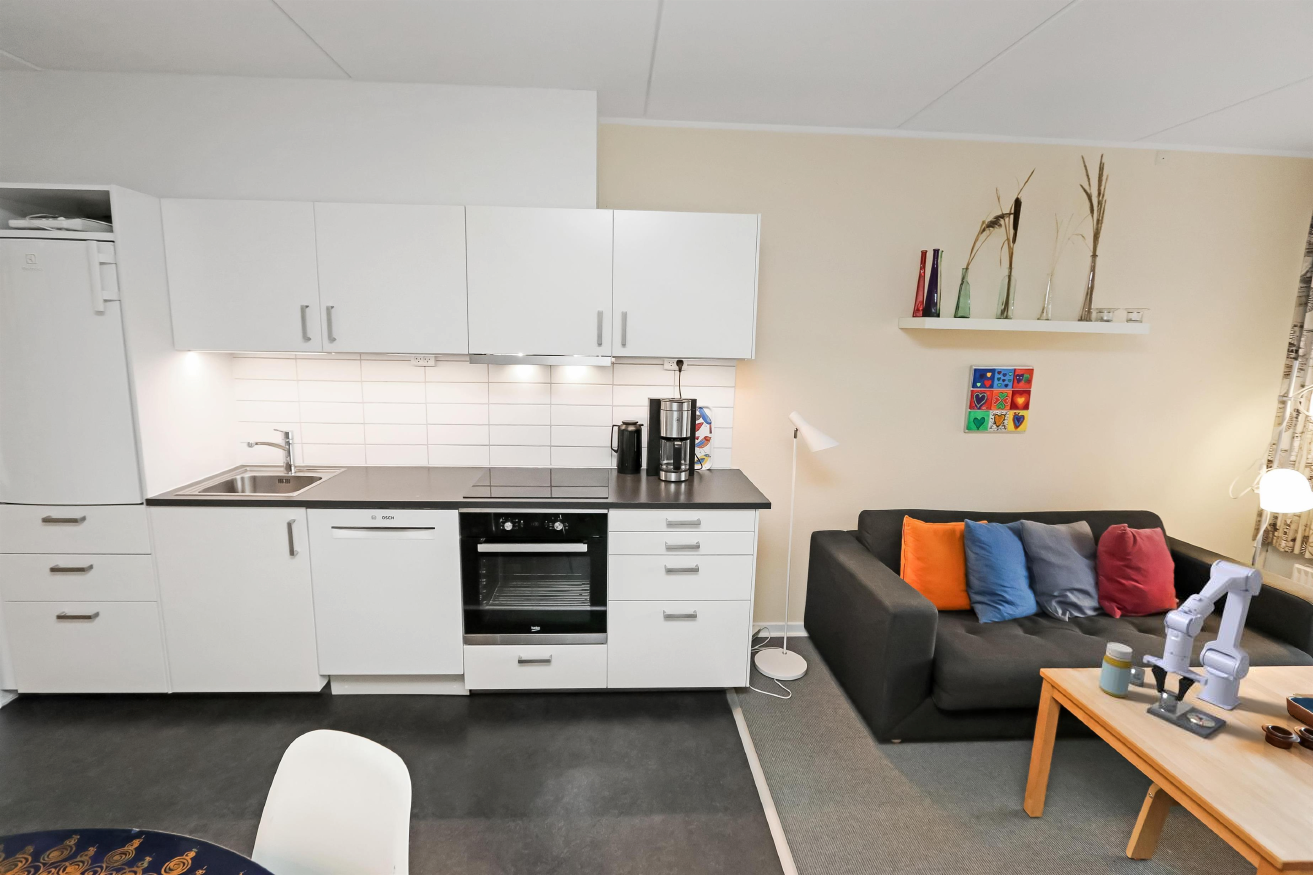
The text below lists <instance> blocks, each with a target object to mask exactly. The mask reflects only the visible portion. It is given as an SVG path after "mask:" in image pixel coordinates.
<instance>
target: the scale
mask: <svg viewBox="0 0 1313 875" xmlns="http://www.w3.org/2000/svg"><path fill="white" fill-rule="evenodd" d="M1146 713H1147V714H1149V715H1151V716H1153V717H1155V718H1158V719H1160V720H1163V721H1164V722H1167V723H1169V724H1171V725H1174V726H1176V727H1178V728H1179V729H1182V730H1185V731H1186V732H1189V733H1191V734H1193V735H1196V736H1198V737H1200V738H1202V739H1208V738H1209V737H1210V736H1211V735H1213V734H1215V733H1216V732H1217V731H1219V730H1220V729H1222V728H1223V727H1225V726H1226V725H1227V720H1225V719H1223V718H1220V717H1218V716H1215V715H1213V714H1211V713H1209V712H1206V711H1204V710H1201V709H1199V708H1196V707H1195V705H1194V704H1192V703H1189V702H1187V701H1185V700H1182V701H1180V702H1179V701H1178V705H1177V711H1176V713H1169V712H1166V711H1164V710H1162V709H1160V708H1159V701H1157V702H1155V703H1154V704H1152V705H1150V707H1148V708H1147V709H1146Z"/></svg>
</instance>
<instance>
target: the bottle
mask: <svg viewBox="0 0 1313 875" xmlns="http://www.w3.org/2000/svg"><path fill="white" fill-rule="evenodd" d="M1105 652H1106V653H1105V654H1104V656H1103V660H1102V665H1101V672H1100V677H1099V683H1098V684H1099V689H1100V690H1101V691H1102V692H1103V693H1104V694H1106V695H1108V696H1111V697H1114V698H1119V699H1121V698H1125V697H1127V695H1128V692H1129V685H1130V684H1129V681H1130V674H1131V668H1132V666H1133V665H1132V656H1133V648H1131V647H1129V646H1128V645H1126V644H1122V643H1119V642H1113V641H1111V642H1107V644H1106V651H1105Z"/></svg>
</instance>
